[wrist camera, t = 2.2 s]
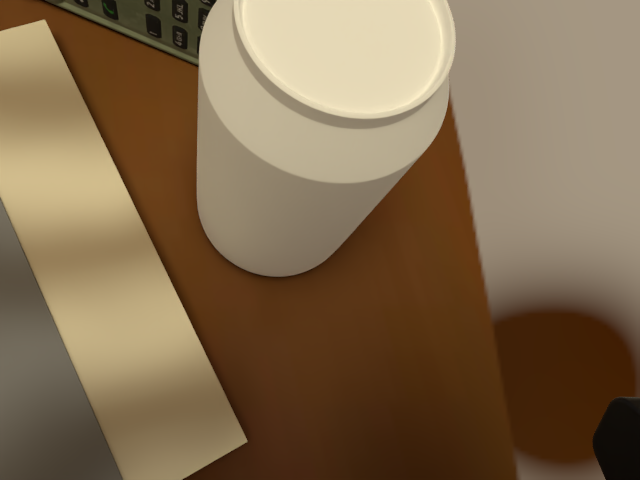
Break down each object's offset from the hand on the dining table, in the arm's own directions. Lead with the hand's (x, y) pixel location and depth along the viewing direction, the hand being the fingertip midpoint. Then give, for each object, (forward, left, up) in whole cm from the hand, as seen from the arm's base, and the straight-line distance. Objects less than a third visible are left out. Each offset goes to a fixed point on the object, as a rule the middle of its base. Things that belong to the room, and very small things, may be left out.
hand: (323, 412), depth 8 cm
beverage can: (+7, -5, -14) cm, 16 cm away
